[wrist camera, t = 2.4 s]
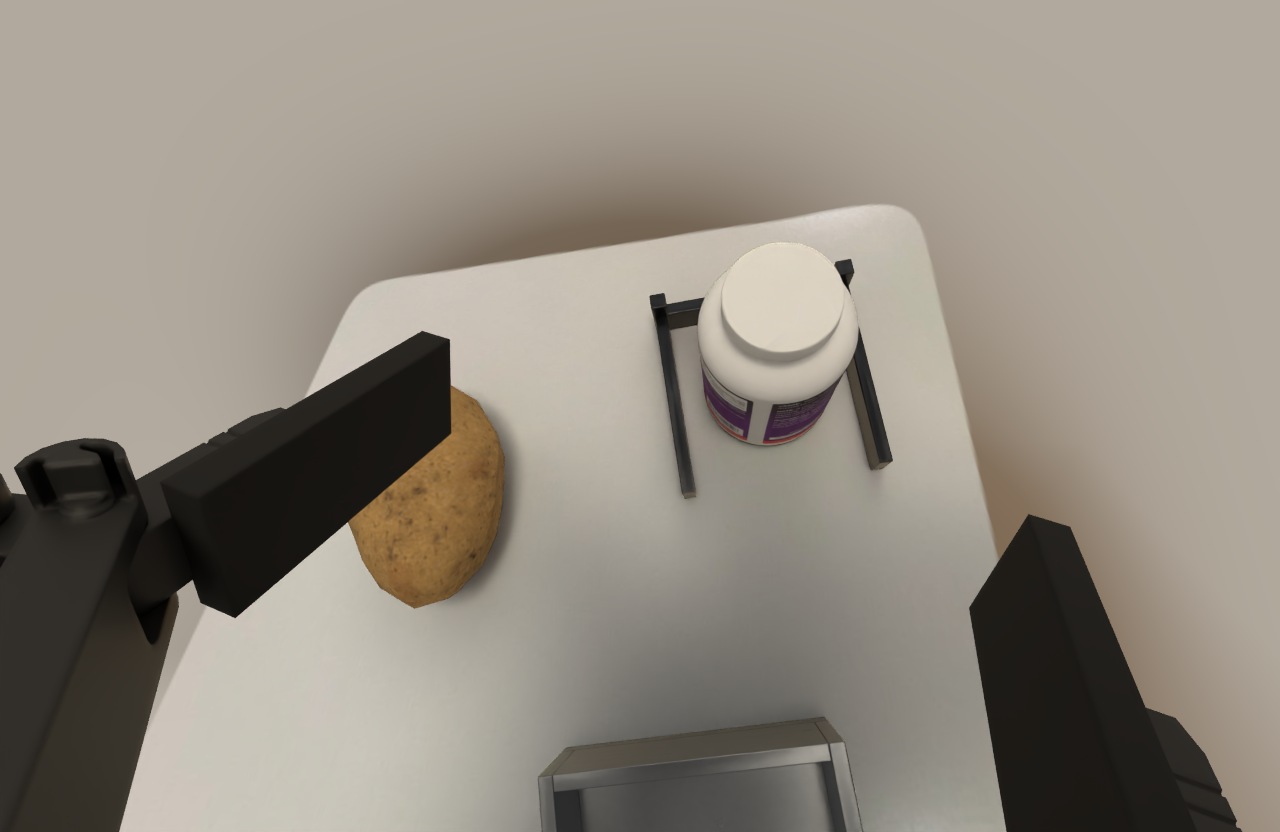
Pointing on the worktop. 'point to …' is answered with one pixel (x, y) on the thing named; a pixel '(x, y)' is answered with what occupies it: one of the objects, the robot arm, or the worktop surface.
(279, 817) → the worktop surface
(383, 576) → the potato
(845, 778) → the grey open square box
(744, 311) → the pill bottle
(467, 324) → the worktop surface
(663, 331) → the u-shaped frame
